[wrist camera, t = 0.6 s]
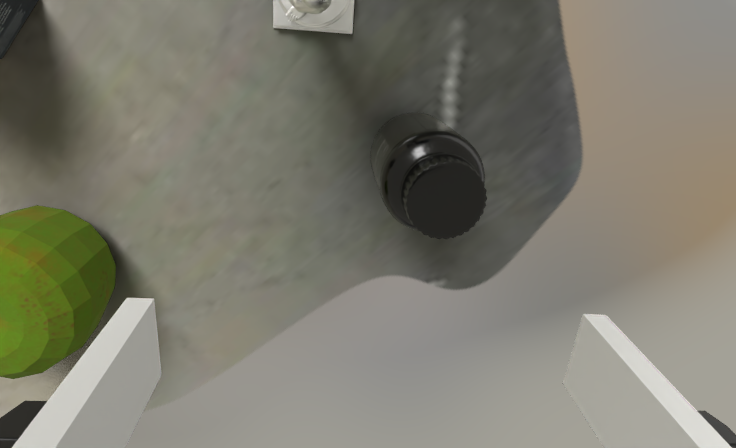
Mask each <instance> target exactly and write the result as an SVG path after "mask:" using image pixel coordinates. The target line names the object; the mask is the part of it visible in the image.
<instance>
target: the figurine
mask: <svg viewBox="0 0 736 448" xmlns="http://www.w3.org/2000/svg"><path fill="white" fill-rule="evenodd" d="M353 14H354V0H273V28H281V29H294V30H307V31H319V32H332V33H345V34H352V32H353Z"/></svg>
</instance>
